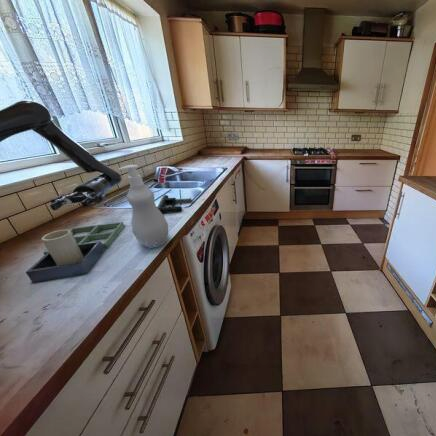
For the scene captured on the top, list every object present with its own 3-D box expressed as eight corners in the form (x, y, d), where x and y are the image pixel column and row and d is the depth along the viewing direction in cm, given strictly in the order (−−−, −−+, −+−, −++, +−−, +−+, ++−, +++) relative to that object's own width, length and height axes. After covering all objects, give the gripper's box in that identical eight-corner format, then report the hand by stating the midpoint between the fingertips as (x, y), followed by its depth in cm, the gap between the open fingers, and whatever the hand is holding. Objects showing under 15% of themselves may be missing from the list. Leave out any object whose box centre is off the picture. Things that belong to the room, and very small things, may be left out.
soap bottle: (136, 236, 91) (110, 163, 78) (168, 228, 97) (148, 159, 84) (139, 257, 78) (108, 174, 65) (175, 246, 84) (153, 168, 71)
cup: (53, 271, 71) (36, 241, 66) (65, 259, 77) (50, 231, 72) (78, 267, 73) (63, 238, 68) (88, 256, 78) (75, 228, 73)
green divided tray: (45, 257, 79) (42, 252, 78) (74, 231, 94) (71, 227, 94) (107, 248, 83) (105, 243, 82) (124, 225, 99) (123, 221, 98)
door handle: (191, 193, 129) (160, 194, 124) (188, 206, 112) (151, 209, 107) (192, 198, 130) (161, 200, 125) (189, 212, 113) (153, 215, 108)
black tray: (32, 282, 67) (25, 272, 65) (59, 256, 79) (54, 247, 77) (86, 273, 71) (81, 263, 69) (105, 250, 82) (100, 240, 81)
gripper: (65, 183, 87) (36, 198, 73) (108, 180, 91) (89, 193, 77) (73, 201, 91) (47, 218, 77) (114, 198, 94) (97, 213, 80)
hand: (68, 206), depth 77 cm, fingers open, 8 cm apart
